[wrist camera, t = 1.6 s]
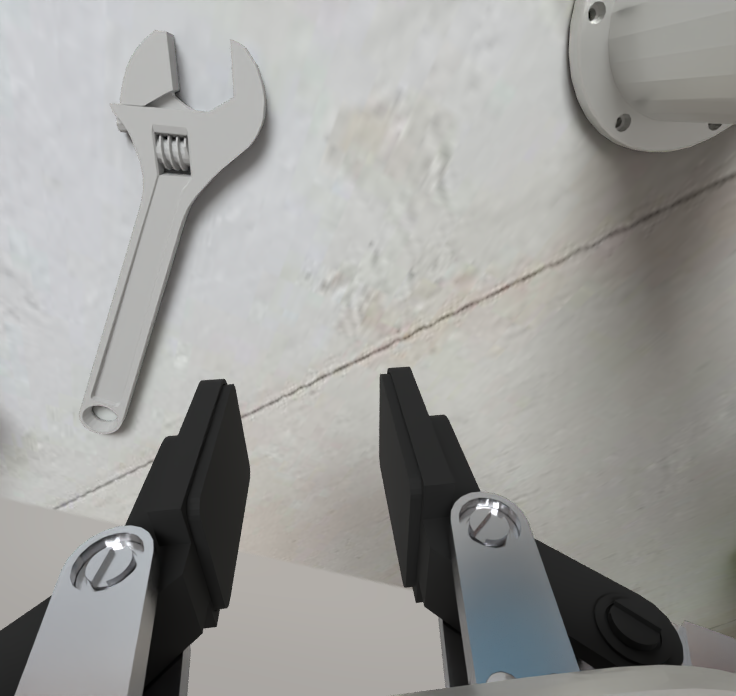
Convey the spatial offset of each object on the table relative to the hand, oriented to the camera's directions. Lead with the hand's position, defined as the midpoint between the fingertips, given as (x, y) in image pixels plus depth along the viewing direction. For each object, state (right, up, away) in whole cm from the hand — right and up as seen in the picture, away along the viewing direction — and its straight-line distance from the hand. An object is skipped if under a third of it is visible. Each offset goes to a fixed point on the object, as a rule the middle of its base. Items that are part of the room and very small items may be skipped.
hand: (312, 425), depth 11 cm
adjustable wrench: (-12, +7, +15) cm, 20 cm away
